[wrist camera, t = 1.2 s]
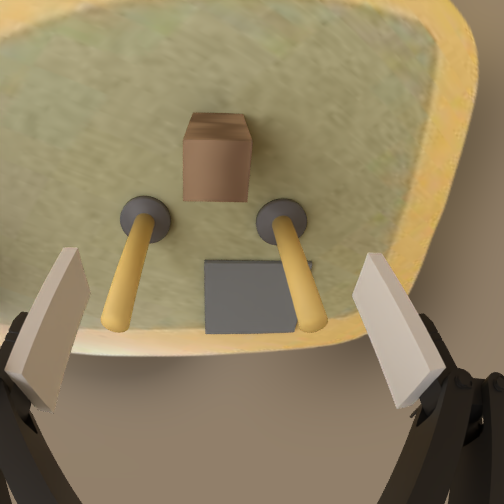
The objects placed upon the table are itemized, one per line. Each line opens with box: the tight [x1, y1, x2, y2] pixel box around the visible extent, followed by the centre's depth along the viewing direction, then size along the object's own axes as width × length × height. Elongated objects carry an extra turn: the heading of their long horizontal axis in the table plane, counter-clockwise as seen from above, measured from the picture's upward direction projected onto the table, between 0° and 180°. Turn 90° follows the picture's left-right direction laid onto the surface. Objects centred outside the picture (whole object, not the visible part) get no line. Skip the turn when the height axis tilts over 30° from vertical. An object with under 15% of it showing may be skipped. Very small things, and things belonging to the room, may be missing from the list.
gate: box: [101, 196, 328, 333], centre depth 31 cm, size 22×6×16 cm, turn 85°
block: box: [183, 113, 253, 202], centre depth 27 cm, size 5×5×10 cm
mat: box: [204, 260, 312, 334], centre depth 45 cm, size 14×14×1 cm
